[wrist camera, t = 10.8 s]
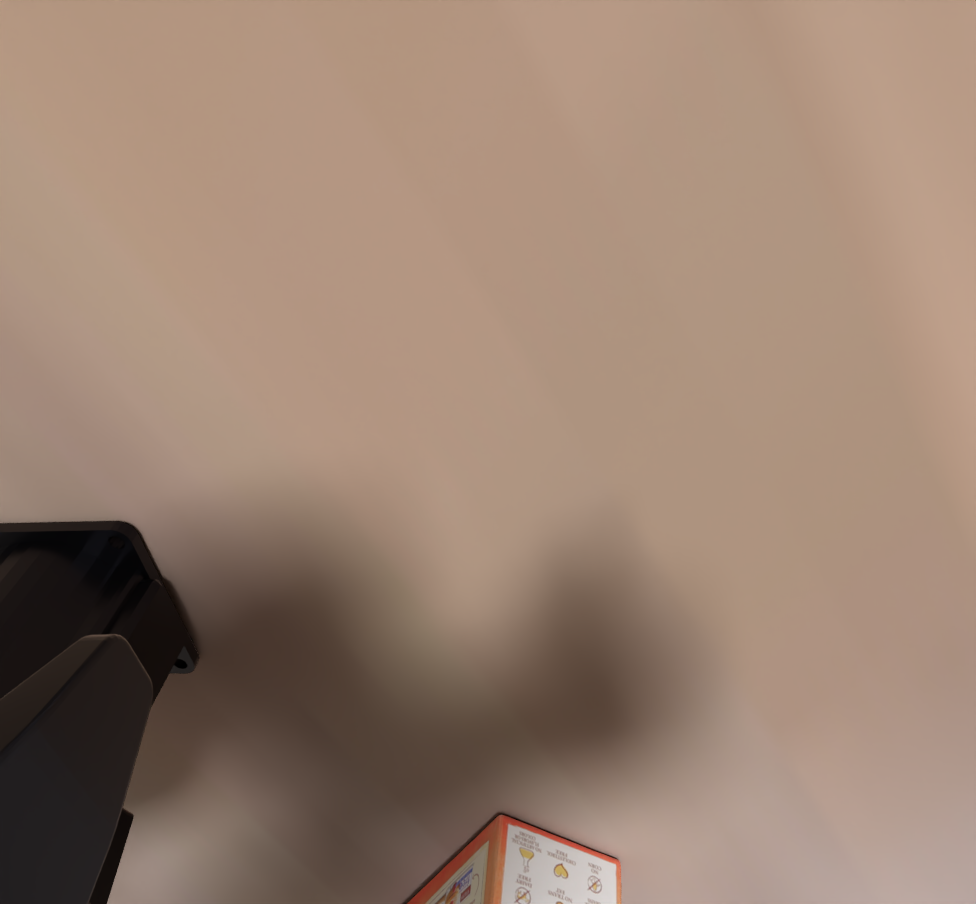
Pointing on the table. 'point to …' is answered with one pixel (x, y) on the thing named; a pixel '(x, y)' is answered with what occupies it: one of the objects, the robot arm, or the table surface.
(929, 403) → the table surface
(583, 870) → the cracker box
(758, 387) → the table surface
